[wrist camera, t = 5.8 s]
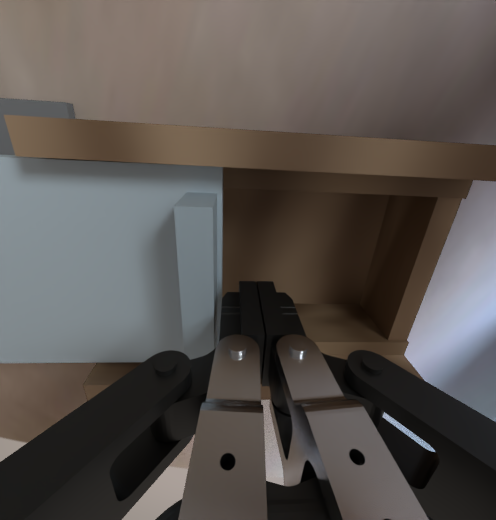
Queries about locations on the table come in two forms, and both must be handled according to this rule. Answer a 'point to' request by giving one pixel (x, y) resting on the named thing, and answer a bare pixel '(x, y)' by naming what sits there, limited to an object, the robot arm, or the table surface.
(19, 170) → the slate cover plate
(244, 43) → the table surface
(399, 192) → the walnut lid box
